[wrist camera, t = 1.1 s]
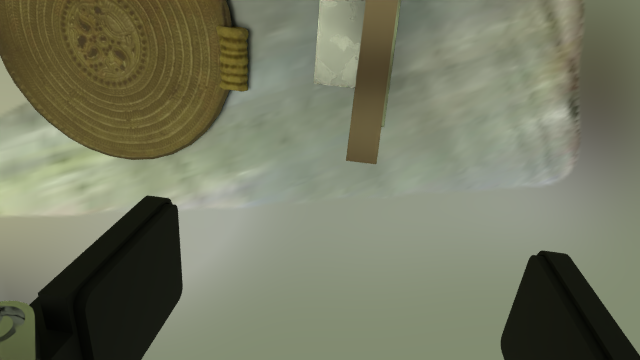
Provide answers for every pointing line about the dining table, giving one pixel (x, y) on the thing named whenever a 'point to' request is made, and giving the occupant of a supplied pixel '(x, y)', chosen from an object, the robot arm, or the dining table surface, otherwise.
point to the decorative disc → (125, 69)
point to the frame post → (338, 42)
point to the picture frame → (373, 79)
